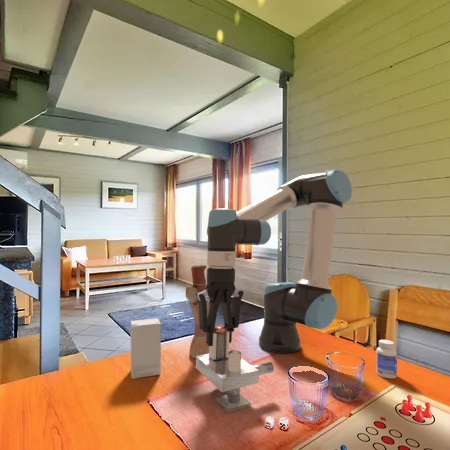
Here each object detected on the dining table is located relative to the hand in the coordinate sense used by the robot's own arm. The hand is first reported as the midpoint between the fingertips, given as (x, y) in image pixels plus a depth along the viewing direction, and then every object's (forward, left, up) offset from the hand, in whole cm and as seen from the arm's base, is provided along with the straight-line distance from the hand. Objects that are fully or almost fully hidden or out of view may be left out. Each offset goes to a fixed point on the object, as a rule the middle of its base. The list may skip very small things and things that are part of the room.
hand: (218, 356), depth 81 cm
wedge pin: (0, 0, -6) cm, 6 cm away
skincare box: (-17, -15, -9) cm, 24 cm away
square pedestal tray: (+4, +3, -8) cm, 10 cm away
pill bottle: (+15, +49, -9) cm, 51 cm away
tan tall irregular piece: (-23, +4, -8) cm, 24 cm away
